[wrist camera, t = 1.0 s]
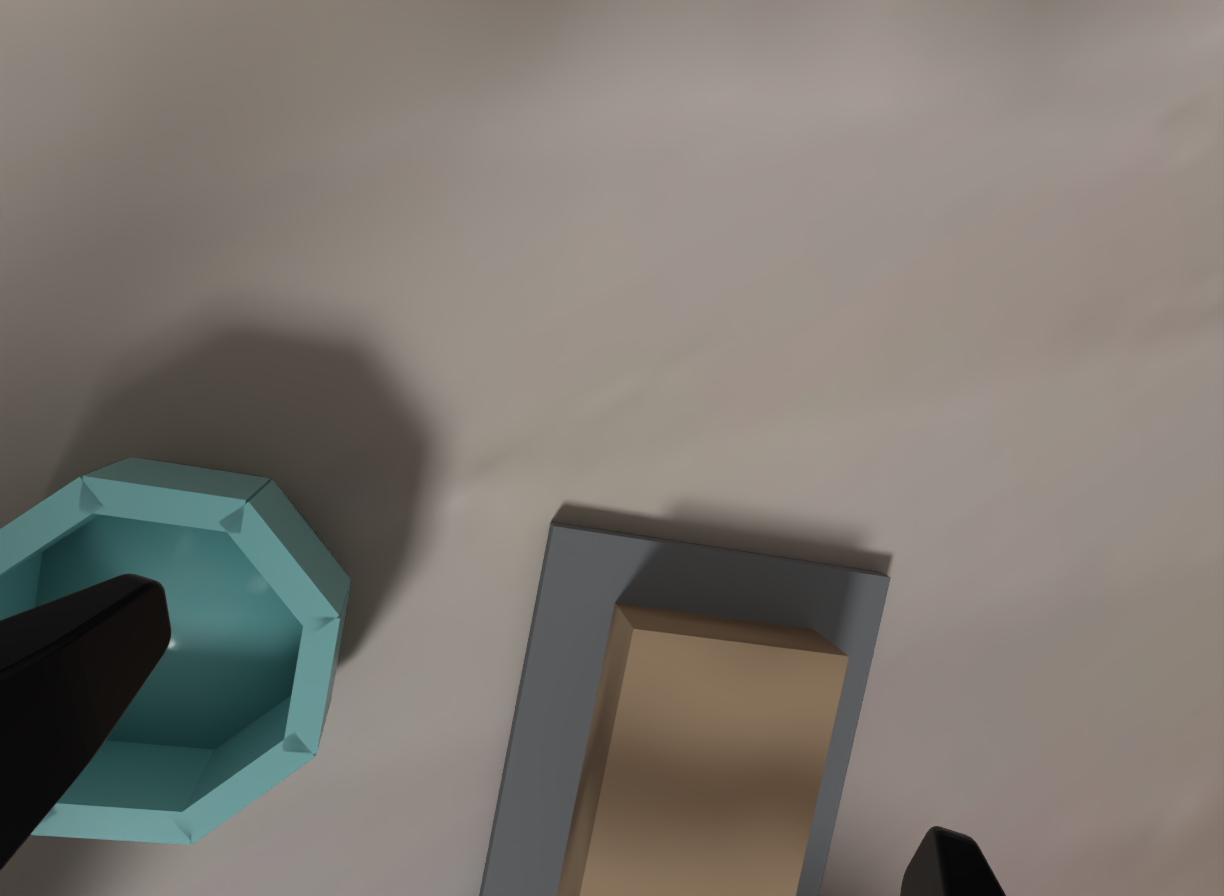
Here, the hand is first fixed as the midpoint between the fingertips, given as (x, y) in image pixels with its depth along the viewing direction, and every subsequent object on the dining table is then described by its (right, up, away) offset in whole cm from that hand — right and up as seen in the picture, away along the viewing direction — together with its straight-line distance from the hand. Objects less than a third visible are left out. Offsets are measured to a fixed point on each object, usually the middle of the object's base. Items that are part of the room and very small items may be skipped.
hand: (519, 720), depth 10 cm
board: (+3, -7, +17) cm, 19 cm away
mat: (+3, -7, +18) cm, 19 cm away
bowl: (-11, -1, +14) cm, 18 cm away
